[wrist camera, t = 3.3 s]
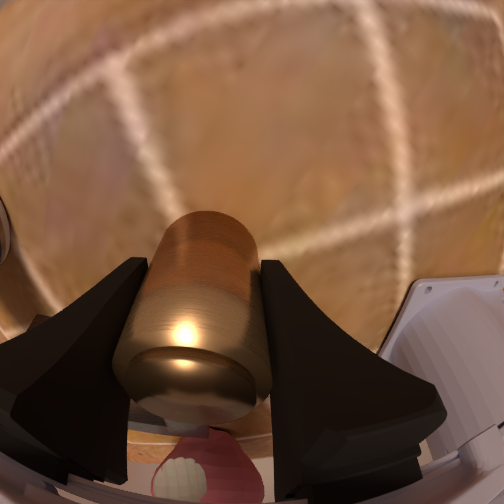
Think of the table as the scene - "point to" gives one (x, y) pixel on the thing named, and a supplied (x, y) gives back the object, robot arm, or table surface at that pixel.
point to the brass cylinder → (198, 326)
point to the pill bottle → (4, 234)
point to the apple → (208, 472)
